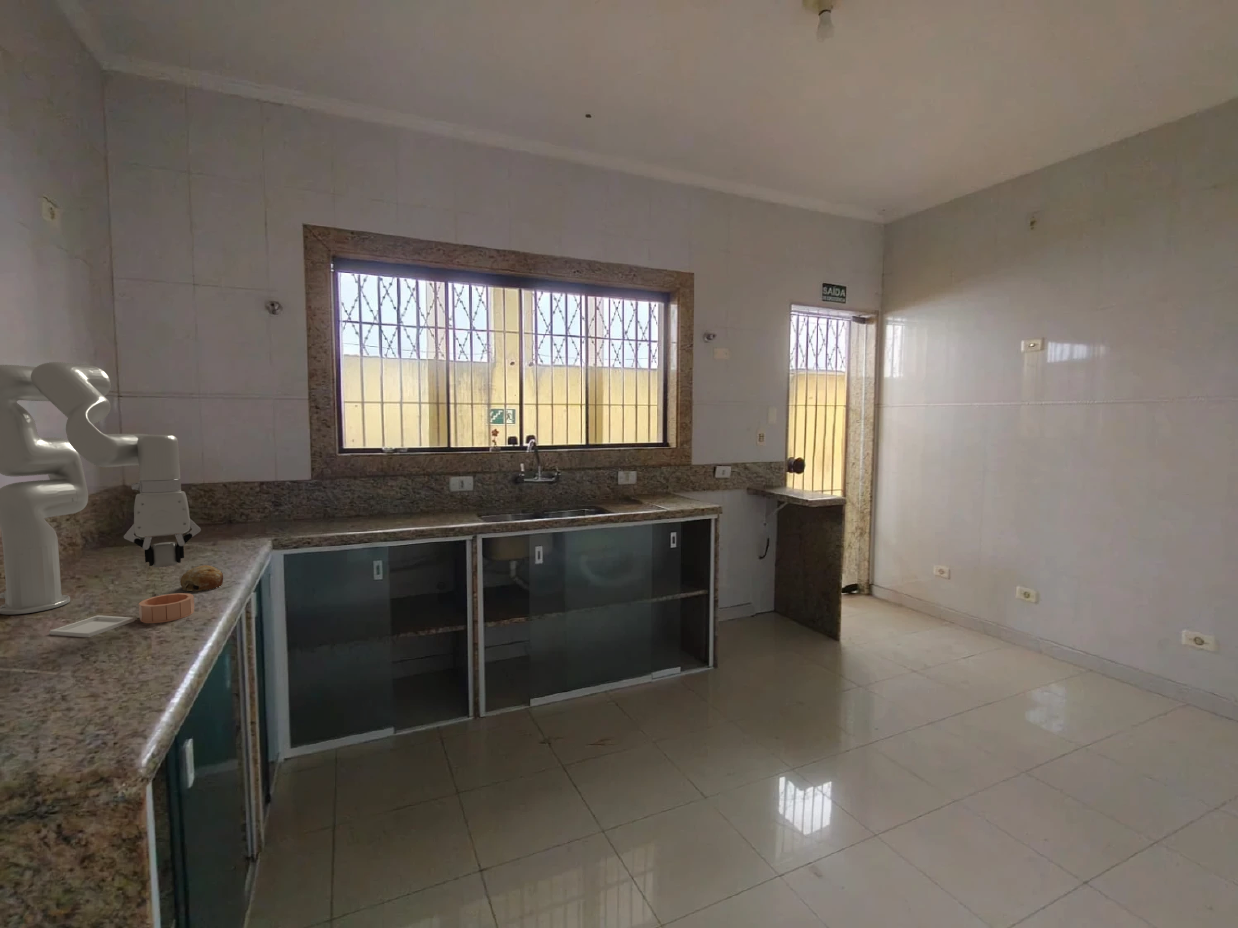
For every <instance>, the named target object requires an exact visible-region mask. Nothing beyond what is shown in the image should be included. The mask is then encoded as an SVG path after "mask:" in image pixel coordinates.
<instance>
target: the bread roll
mask: <svg viewBox="0 0 1238 928" xmlns="http://www.w3.org/2000/svg"><path fill="white" fill-rule="evenodd" d="M223 583H224V573H223V572H222V571H221V570H220V569H218V568H217V567H214V566H212V565H206V564H204V565H203V564H202V565H198V566H195V567H192V568H190V569H189V570H187V571H186V572H184V573H183V575H182V576H181V577H180V586H181V589H182V591H184V592H187V591H194V592H202V590H203V591H210V590H209V589H211V590H214V589H213V588H215V589H217V588H216V587H218V588H220V587H219V586H221V585H223ZM221 587H222V586H221Z"/></svg>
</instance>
